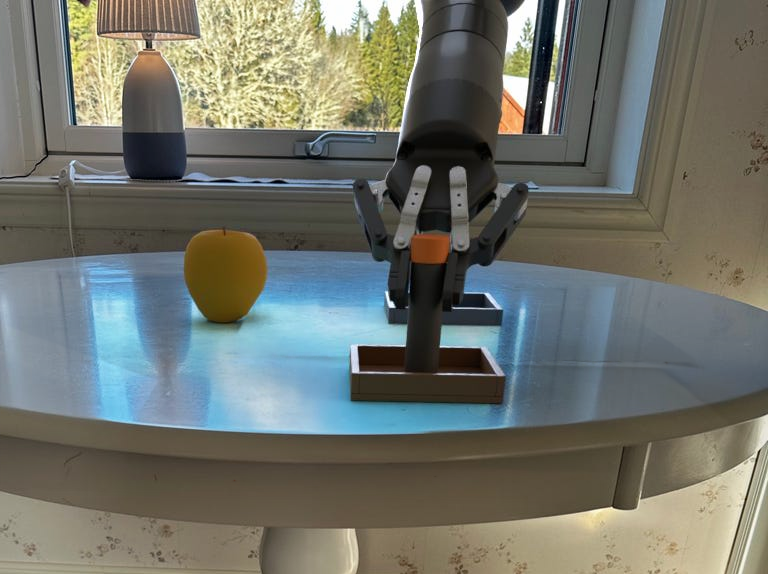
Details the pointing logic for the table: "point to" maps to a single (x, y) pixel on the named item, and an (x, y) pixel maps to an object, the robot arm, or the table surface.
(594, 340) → the table surface
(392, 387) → the walnut tray
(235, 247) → the apple
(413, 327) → the marker
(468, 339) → the table surface
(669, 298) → the table surface
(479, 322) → the grey tray
